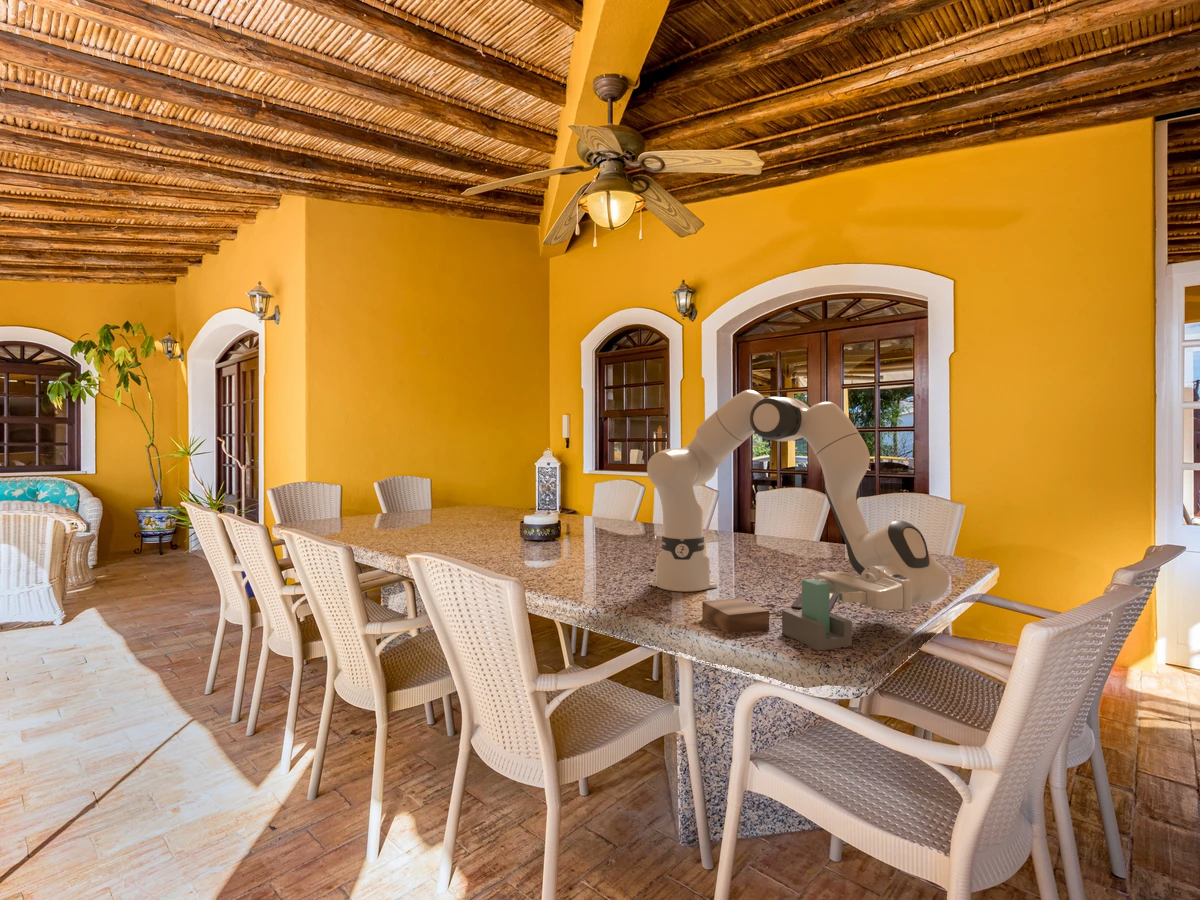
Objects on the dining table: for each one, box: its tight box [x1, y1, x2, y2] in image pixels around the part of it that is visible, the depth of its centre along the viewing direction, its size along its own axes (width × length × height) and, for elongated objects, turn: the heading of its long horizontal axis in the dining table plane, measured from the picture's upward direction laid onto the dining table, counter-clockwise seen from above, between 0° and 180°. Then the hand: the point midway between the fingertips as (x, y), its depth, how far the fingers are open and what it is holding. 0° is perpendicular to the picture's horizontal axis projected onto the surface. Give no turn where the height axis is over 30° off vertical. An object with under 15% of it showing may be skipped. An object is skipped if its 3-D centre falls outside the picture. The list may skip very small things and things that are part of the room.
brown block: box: [701, 597, 770, 635], centre depth 142 cm, size 12×10×4 cm
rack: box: [781, 608, 853, 652], centre depth 131 cm, size 12×8×5 cm, turn 18°
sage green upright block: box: [801, 578, 831, 633], centre depth 131 cm, size 5×3×10 cm, turn 18°
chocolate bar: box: [790, 592, 839, 612], centre depth 161 cm, size 9×1×18 cm
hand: (825, 592), depth 131 cm, fingers open, 8 cm apart
